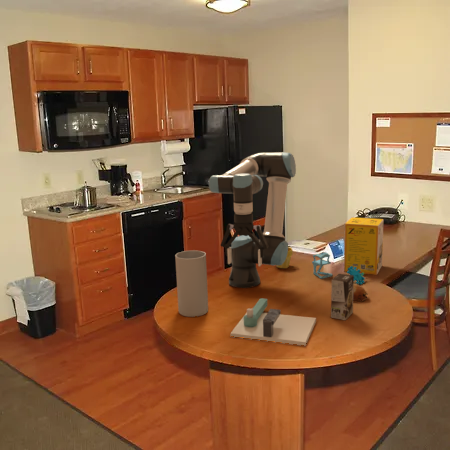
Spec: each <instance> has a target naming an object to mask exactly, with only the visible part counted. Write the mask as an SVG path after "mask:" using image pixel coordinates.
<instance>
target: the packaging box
mask: <svg viewBox="0 0 450 450" xmlns="http://www.w3.org/2000/svg"><path fill="white" fill-rule="evenodd" d="M343 241H344V242H343V244H344V247H343V272H346V273H347V271H349V270H348V268H350V267H351V266H353V270H354V267H356V268H357V269H356V271H357V270H358V269H360V272H359V273H363V272H364V275H374V276H377V275H378V273H379V272H380V271H381V270H380V269H381V268H382V266H383V250H384V249H383V248H384V247H383V246H384V219H383V218H371V217H370V218H367V217H354V216H353V217H350V218H349V219H348V220H347V221H346V222H345V223H344V239H343Z"/></svg>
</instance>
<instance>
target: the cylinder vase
mask: <svg viewBox="0 0 450 450" xmlns="http://www.w3.org/2000/svg"><path fill="white" fill-rule="evenodd" d="M206 254H207V253H206V252H205V251H201V250H184V251H183V250H182V251H181V252H177V253H176V254H175V255H174V257H175V272H176V273H175V275H176V276H175V277H176V288H177V290H176V291H177V307H178V308H177V309H178V314H180V315H181V316H183V317H189V318H195V316H197V317H201V316H204V315H205V314H206V313H208V312H209V296H208V271H207V270H208V269H207V255H206Z"/></svg>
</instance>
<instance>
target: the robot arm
mask: <svg viewBox="0 0 450 450" xmlns="http://www.w3.org/2000/svg"><path fill="white" fill-rule="evenodd" d="M296 166H297V165H296V160H295V157H294V155H293V154H292V153H291V152H285V151H284V152H283V151H282V152H279V151H278V152H277V151H276V152H266V151H265V152H263V151H262V152H257V153H253V154H251V155H249V156H247V157H245V158H243V159H242V160H241V161H240V162H239V164H238V165H236V166H234V167H233V168H231V169H230V170H227V171H226V172H225V173H222V174H220V175H218V174H215V175H211V176H210V178H209V179H208V188H209V191H210V193H213V194H214V193H215V194H232V195H233V211H234V214H233V220H234V223H233V224H232V223H228V224H227V225H226V231H225V233H224V235H223V237H222V241H221V243H220V247H221V248H224V249H225V251H224V252H225V254H224V255H225V256H226V257H227V265H231V271H230V272H229V273H230V274H229V277H228V284H229V286H231V287H234V288H238V289H239V288H241V289H246V288H247V289H248V288H254V287H256V286H259V284H261V277H260V274H259V272H258V268H257V266H258V267H261V266H262V265H266V266H271V267H272V266H276V265H282V264H283V263H284V261H285V259H286V257H287V253H288V247H289V243H288V242H287V240H286V236H284V234H283V229H284V228H283V227H284V218H285V211H286V208H285V207H286V198H287V188H288V184H289V183H291V180H292V178H295V176H296V174H297V173H296V171H297V168H296ZM262 177H266V181H267V182H268V191H267V192H268V194H267V198H266V199H267V200H266V209H265V210H266V211H265V217H264V218H265V220H264V227H263V228H264V229H263V231H262V225H261V224H258V225H254V214H253V212H254V211H253V208H254V207H253V195H254V194H258V193H259V192H260V191H262V189H263V185H264V181H263V178H262ZM233 229H234V230H235V232H234V233H233V234H232V236H231V238H229V236H230V233H231V231H232V230H233ZM253 230H255V232H256V234H257V235H258V237H257V235H255V232H254V231H253ZM228 238H229V240H228ZM227 240H228V241H227Z"/></svg>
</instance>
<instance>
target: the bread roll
mask: <svg viewBox="0 0 450 450" xmlns="http://www.w3.org/2000/svg"><path fill="white" fill-rule="evenodd" d="M367 295H369V294H368V292H367V290H365V288H364V287H362V285H360V284H356V283H354V284H353V302H358V303H359V302H363V301H366V299H368V296H367Z"/></svg>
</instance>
